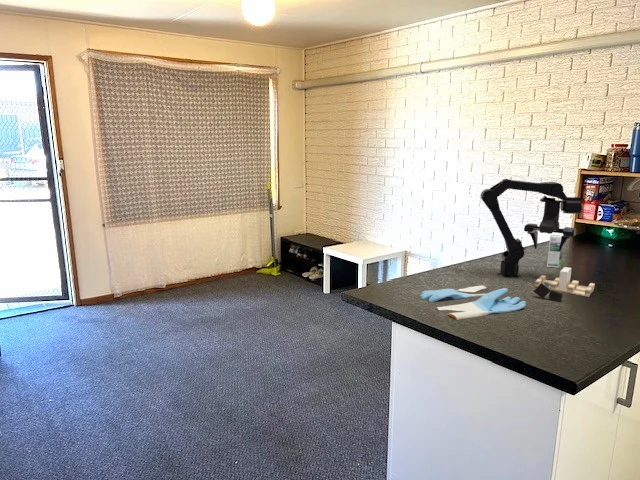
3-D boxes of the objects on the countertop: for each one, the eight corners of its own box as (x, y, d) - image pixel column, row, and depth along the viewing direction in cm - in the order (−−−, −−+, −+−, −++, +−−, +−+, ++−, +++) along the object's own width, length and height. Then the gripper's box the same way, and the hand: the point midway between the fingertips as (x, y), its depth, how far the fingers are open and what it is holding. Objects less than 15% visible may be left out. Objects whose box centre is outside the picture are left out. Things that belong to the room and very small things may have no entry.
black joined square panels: (554, 305, 169) (565, 295, 166) (554, 307, 167) (565, 296, 164) (534, 289, 172) (544, 278, 169) (533, 291, 170) (543, 280, 168)
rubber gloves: (410, 295, 173) (411, 279, 172) (482, 287, 184) (483, 271, 183) (456, 321, 148) (457, 302, 147) (535, 309, 159) (537, 292, 158)
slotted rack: (588, 296, 171) (589, 291, 171) (534, 286, 183) (534, 281, 182) (594, 289, 180) (594, 283, 180) (541, 280, 192) (542, 275, 191)
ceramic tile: (558, 288, 179) (560, 271, 178) (562, 283, 185) (564, 266, 184) (565, 289, 178) (567, 272, 176) (569, 285, 184) (571, 267, 182)
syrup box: (546, 266, 213) (550, 236, 210) (547, 264, 218) (550, 233, 215) (560, 268, 210) (564, 237, 207) (560, 265, 215) (564, 234, 212)
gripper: (522, 213, 189) (518, 250, 192) (573, 217, 178) (568, 257, 181) (529, 210, 198) (526, 245, 201) (578, 214, 186) (574, 252, 190)
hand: (547, 250), depth 193 cm, fingers open, 9 cm apart
